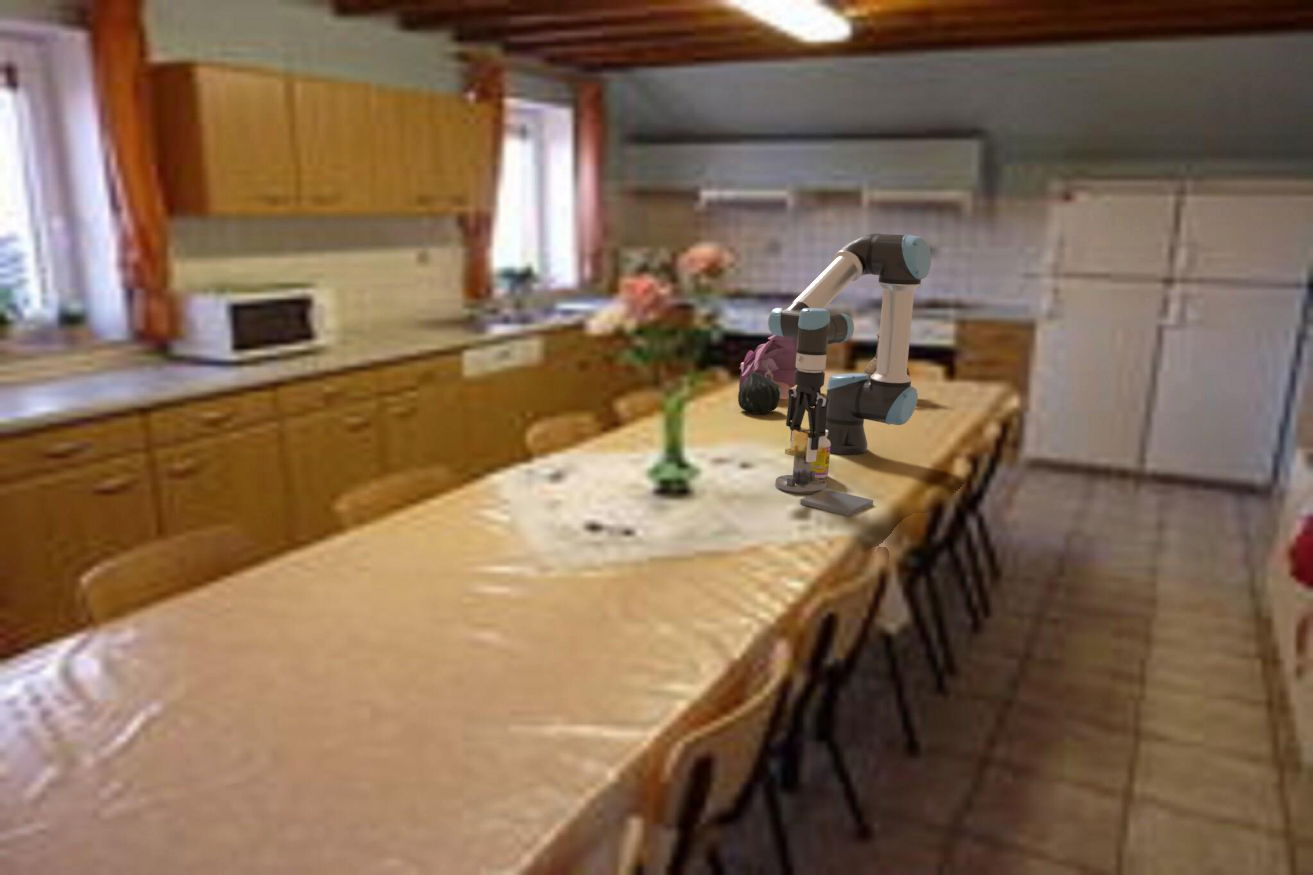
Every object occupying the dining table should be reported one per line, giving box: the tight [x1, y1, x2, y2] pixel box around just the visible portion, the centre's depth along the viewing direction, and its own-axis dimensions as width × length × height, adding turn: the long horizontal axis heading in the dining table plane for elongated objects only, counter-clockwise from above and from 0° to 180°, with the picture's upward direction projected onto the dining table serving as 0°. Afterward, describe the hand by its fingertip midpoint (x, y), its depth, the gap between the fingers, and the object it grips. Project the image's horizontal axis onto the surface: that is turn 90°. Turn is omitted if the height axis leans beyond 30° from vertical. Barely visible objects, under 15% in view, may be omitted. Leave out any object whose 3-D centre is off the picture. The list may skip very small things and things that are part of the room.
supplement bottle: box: [810, 430, 831, 479], centre depth 256 cm, size 7×7×13 cm
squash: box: [737, 372, 781, 415], centre depth 335 cm, size 14×15×15 cm
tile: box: [800, 488, 874, 517], centre depth 233 cm, size 13×13×1 cm
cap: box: [784, 427, 822, 456], centre depth 243 cm, size 11×6×6 cm, turn 119°
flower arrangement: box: [738, 334, 798, 400], centre depth 368 cm, size 35×24×28 cm
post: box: [774, 455, 827, 496], centre depth 245 cm, size 13×13×9 cm
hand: (802, 458), depth 244 cm, fingers closed on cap, 6 cm apart
